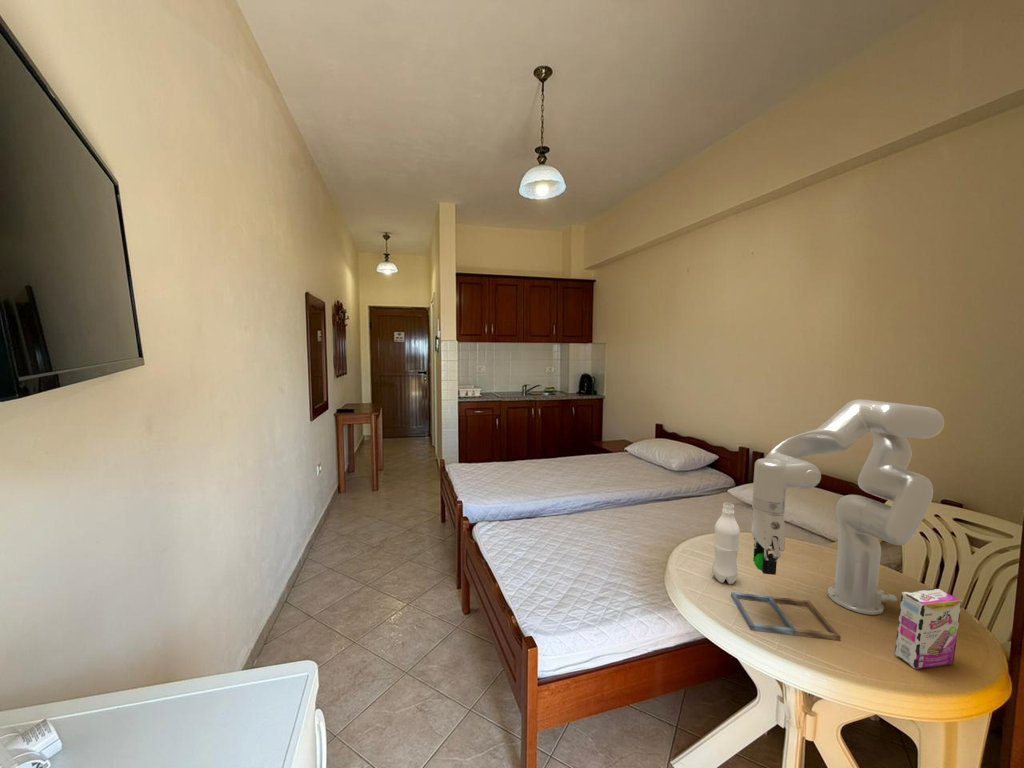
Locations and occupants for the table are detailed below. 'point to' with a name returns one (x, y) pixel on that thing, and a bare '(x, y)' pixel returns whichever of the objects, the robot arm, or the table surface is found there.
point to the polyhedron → (759, 560)
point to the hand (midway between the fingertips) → (764, 567)
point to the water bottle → (726, 546)
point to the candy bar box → (927, 628)
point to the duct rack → (789, 627)
